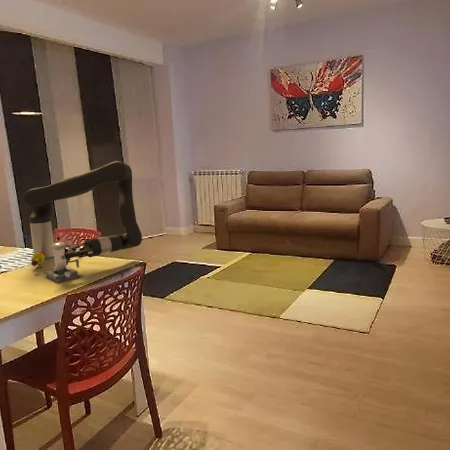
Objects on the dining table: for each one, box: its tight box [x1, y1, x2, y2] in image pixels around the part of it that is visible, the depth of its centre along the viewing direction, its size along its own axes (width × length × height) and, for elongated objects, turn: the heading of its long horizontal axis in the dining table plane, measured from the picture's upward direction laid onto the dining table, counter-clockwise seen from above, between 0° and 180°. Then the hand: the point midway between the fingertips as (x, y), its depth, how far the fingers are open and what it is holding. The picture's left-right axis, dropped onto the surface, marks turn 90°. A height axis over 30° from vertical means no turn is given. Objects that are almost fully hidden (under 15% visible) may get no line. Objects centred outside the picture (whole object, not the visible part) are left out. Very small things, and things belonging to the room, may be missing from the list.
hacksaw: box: [65, 257, 83, 269], centre depth 182 cm, size 24×10×2 cm, turn 19°
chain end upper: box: [44, 265, 79, 279], centre depth 165 cm, size 11×9×3 cm
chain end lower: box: [46, 271, 81, 284], centre depth 163 cm, size 11×9×3 cm
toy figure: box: [30, 251, 46, 269], centre depth 179 cm, size 18×6×7 cm, turn 13°
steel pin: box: [52, 241, 67, 274], centre depth 163 cm, size 5×5×14 cm
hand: (60, 254), depth 163 cm, fingers open, 8 cm apart
